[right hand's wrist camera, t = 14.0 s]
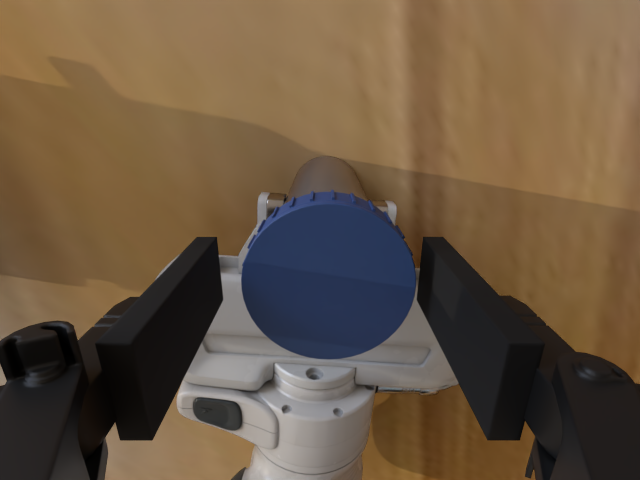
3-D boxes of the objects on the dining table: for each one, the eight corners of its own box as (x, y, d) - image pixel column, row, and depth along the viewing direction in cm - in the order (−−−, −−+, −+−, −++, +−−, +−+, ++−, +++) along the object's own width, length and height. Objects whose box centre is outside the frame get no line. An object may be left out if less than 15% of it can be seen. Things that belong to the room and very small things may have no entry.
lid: (219, 229, 13) (205, 245, 12) (373, 160, 12) (380, 168, 11) (290, 353, 15) (287, 382, 14) (428, 302, 14) (442, 326, 13)
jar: (281, 173, 26) (232, 249, 12) (343, 144, 26) (368, 190, 11) (309, 231, 28) (295, 358, 14) (369, 206, 27) (418, 313, 13)
